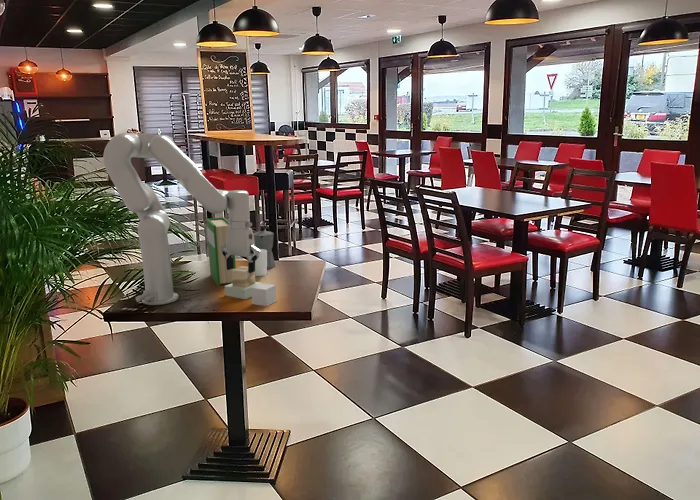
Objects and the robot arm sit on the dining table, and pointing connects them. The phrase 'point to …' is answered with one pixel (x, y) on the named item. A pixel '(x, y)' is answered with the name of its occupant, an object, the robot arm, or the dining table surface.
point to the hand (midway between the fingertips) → (240, 270)
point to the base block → (239, 291)
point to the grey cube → (264, 294)
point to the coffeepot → (265, 245)
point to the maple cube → (242, 277)
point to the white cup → (261, 263)
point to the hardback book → (218, 250)
